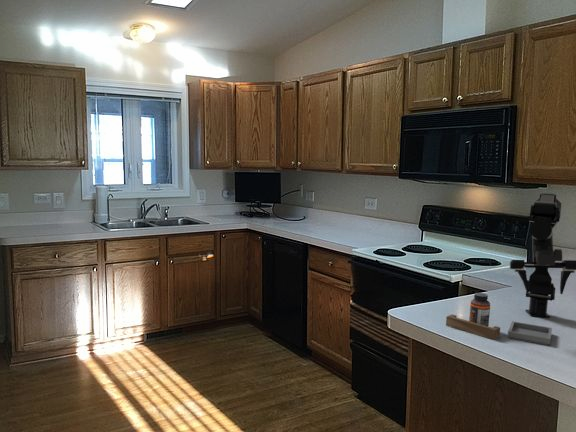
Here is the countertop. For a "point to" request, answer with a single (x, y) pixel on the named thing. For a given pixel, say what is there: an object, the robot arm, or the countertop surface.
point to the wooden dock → (473, 327)
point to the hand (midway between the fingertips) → (544, 293)
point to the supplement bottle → (480, 309)
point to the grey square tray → (530, 333)
